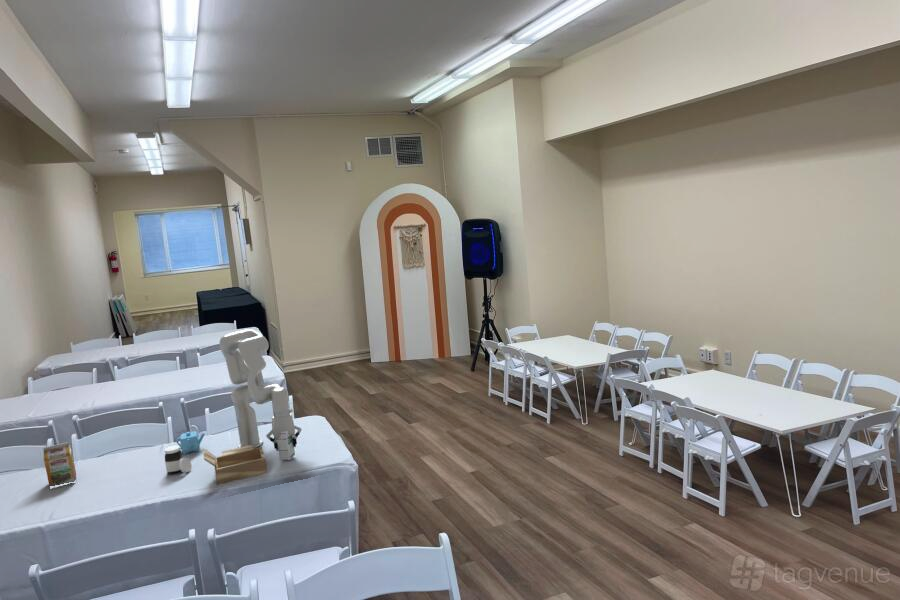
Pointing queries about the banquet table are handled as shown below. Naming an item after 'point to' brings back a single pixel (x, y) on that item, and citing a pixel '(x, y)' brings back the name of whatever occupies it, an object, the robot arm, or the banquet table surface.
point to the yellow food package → (59, 464)
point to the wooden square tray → (240, 464)
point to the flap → (209, 458)
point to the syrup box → (285, 446)
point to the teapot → (190, 442)
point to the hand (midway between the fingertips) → (285, 447)
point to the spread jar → (176, 460)
